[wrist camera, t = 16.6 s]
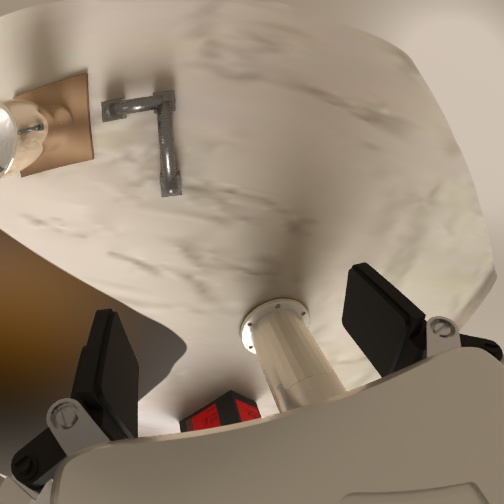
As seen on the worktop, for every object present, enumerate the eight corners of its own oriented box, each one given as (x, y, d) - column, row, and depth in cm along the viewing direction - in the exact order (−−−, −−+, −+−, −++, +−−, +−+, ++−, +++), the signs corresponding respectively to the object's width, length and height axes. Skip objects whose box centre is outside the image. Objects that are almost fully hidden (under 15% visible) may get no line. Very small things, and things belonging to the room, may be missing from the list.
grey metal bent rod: (181, 189, 36) (182, 198, 32) (117, 198, 34) (111, 209, 30) (174, 92, 30) (174, 89, 26) (106, 102, 28) (97, 101, 24)
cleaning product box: (230, 390, 56) (255, 472, 39) (255, 402, 61) (283, 475, 44) (179, 422, 58) (192, 497, 41) (205, 431, 63) (222, 500, 45)
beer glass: (59, 164, 29) (0, 200, 16) (21, 140, 26) (-48, 163, 13) (86, 116, 27) (33, 120, 15) (47, 91, 24) (-19, 86, 11)
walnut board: (94, 158, 31) (92, 159, 30) (23, 176, 28) (21, 177, 28) (87, 74, 26) (85, 73, 25) (15, 97, 23) (12, 97, 23)
